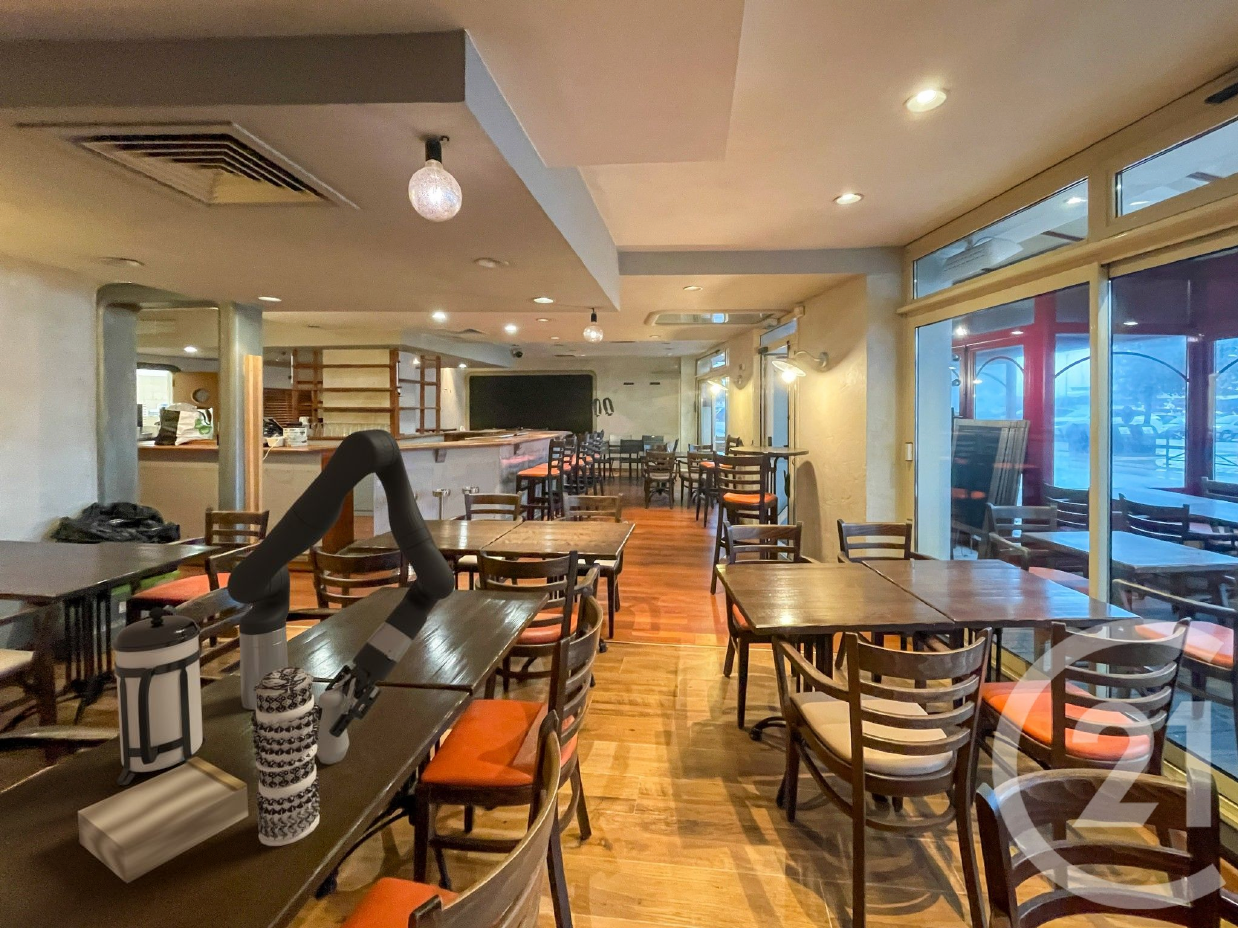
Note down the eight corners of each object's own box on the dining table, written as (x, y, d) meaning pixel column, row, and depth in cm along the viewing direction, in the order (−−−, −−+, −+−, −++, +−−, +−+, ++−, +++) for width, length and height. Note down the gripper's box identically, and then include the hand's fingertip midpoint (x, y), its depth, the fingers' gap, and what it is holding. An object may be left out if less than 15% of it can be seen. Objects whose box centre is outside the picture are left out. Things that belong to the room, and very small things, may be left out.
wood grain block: (79, 842, 87) (77, 808, 87) (197, 785, 101) (196, 756, 101) (127, 883, 80) (125, 846, 79) (248, 815, 93) (246, 783, 93)
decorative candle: (294, 851, 86) (288, 689, 84) (240, 843, 87) (234, 684, 86) (335, 811, 95) (330, 663, 93) (285, 804, 96) (280, 659, 95)
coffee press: (85, 779, 103) (75, 616, 101) (181, 735, 118) (174, 592, 116) (145, 803, 96) (136, 629, 95) (238, 753, 111) (232, 602, 109)
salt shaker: (335, 768, 106) (333, 701, 105) (308, 765, 107) (306, 698, 107) (355, 751, 112) (354, 686, 111) (330, 748, 113) (328, 684, 112)
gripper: (355, 632, 119) (296, 705, 111) (385, 651, 109) (322, 732, 101) (381, 650, 123) (326, 721, 115) (412, 669, 113) (354, 749, 106)
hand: (324, 726), depth 108 cm, fingers open, 8 cm apart
